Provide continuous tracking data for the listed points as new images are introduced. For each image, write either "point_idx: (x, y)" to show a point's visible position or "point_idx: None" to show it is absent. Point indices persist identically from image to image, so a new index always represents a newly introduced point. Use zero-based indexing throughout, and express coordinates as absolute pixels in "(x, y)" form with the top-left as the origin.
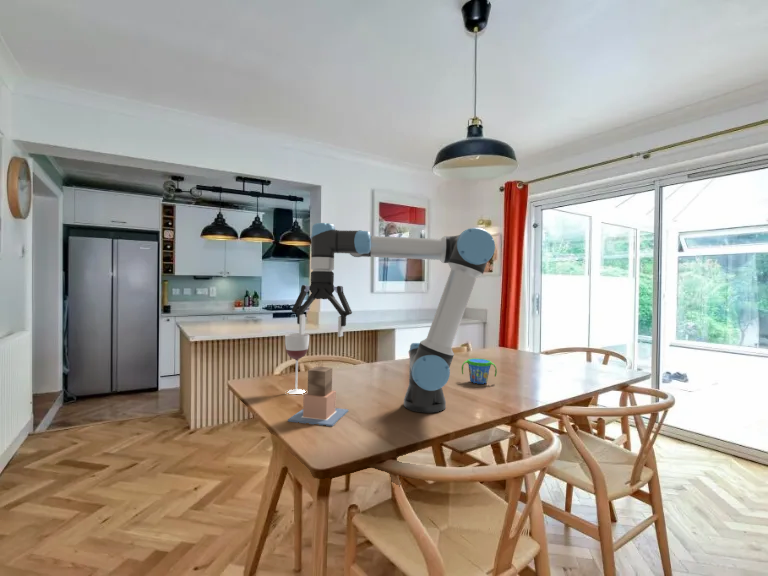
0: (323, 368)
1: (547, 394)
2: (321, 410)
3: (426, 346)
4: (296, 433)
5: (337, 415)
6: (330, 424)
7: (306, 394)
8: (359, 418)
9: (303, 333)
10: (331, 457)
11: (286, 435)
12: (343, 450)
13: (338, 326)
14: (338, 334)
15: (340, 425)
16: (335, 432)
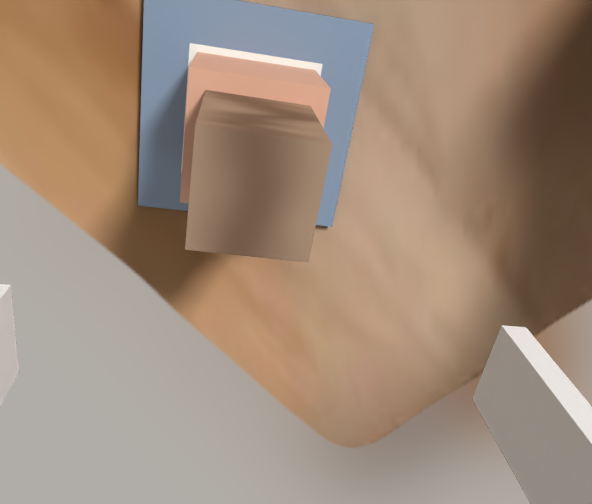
0: (273, 180)
1: None
2: None
3: None
4: (222, 298)
5: (334, 122)
6: (324, 225)
7: (189, 186)
8: (429, 116)
9: (11, 328)
10: (367, 409)
11: (196, 318)
12: (393, 373)
13: (529, 495)
14: (487, 418)
15: (359, 206)
16: (351, 268)
